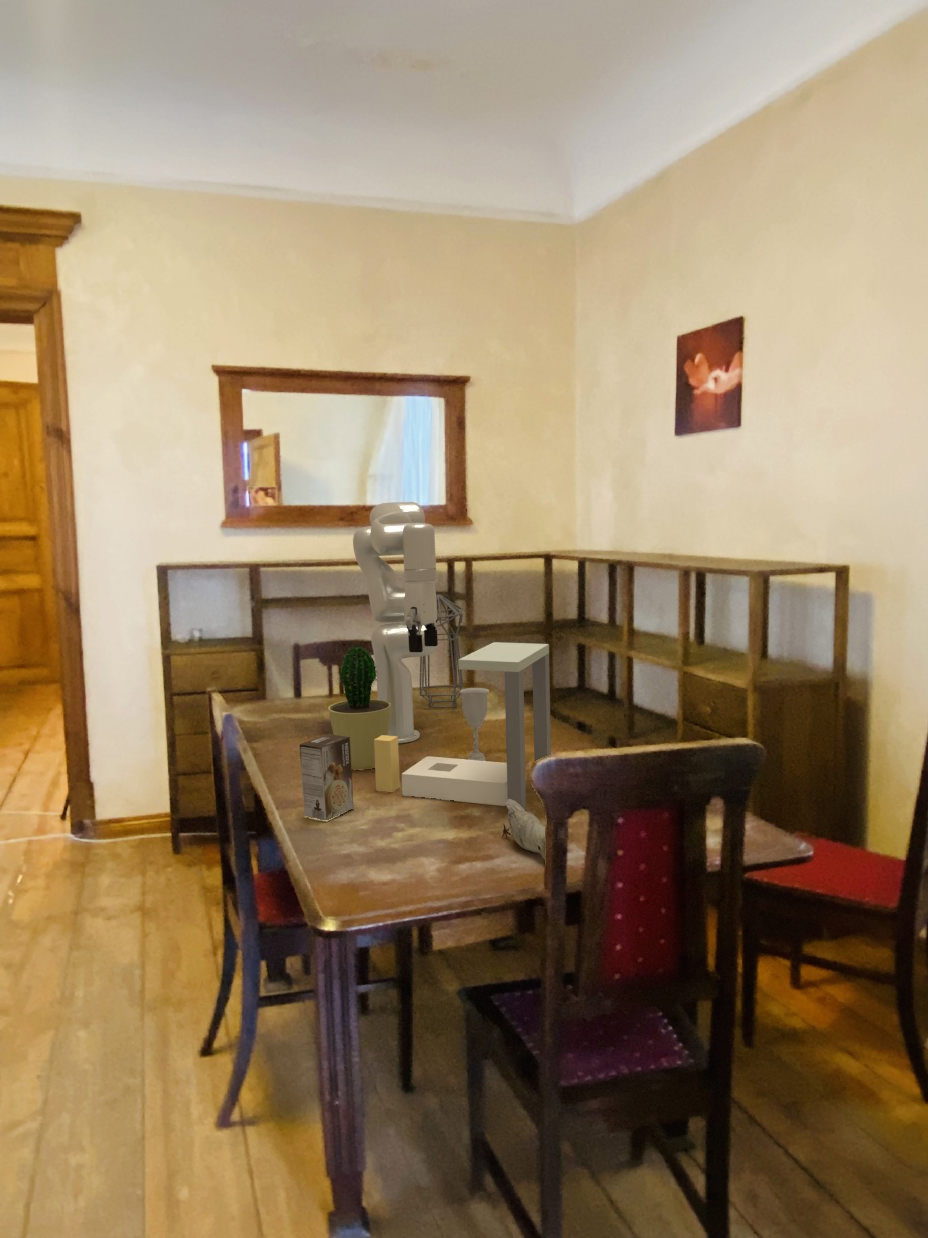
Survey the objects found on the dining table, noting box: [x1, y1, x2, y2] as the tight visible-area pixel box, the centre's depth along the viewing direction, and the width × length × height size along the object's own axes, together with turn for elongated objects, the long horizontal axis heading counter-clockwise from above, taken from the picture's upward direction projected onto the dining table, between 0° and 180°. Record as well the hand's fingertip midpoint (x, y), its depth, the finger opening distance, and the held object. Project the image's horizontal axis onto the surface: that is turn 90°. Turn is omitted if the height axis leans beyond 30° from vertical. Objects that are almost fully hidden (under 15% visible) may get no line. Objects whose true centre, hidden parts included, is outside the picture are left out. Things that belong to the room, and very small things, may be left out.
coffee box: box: [299, 733, 355, 820], centre depth 191 cm, size 9×6×16 cm
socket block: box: [401, 755, 508, 807], centre depth 204 cm, size 24×14×5 cm, turn 69°
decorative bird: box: [501, 799, 546, 860], centre depth 170 cm, size 5×16×8 cm, turn 24°
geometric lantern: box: [419, 594, 464, 709], centre depth 285 cm, size 16×16×35 cm
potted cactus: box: [327, 646, 391, 770], centre depth 225 cm, size 15×15×30 cm
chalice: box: [459, 687, 490, 761], centre depth 225 cm, size 7×7×18 cm
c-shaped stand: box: [458, 641, 552, 814], centre depth 199 cm, size 13×22×32 cm, turn 159°
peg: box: [374, 735, 401, 793], centre depth 206 cm, size 4×4×12 cm
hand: (423, 649), depth 216 cm, fingers open, 9 cm apart
